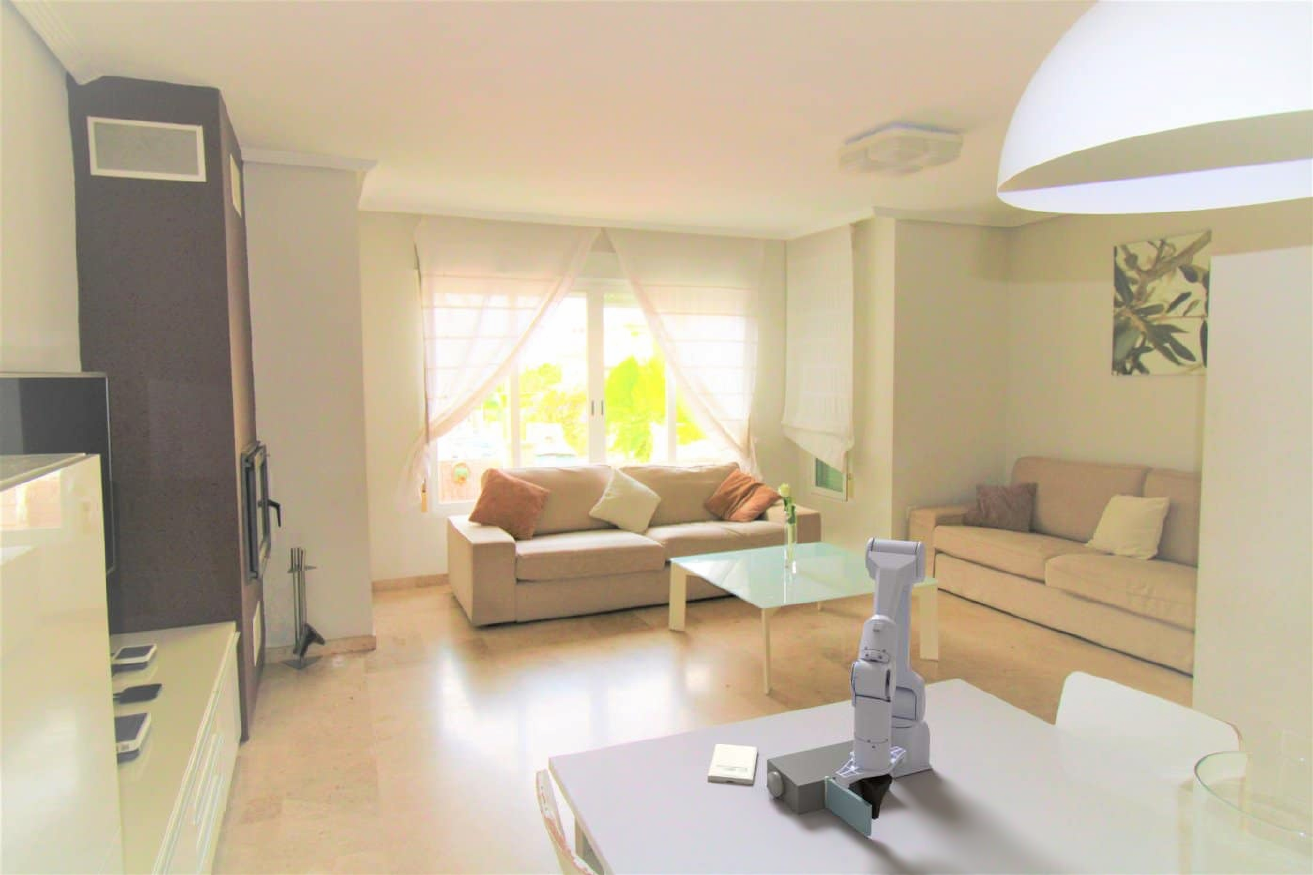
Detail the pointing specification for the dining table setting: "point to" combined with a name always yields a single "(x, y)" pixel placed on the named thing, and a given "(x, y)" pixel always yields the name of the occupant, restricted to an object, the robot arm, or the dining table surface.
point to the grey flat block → (808, 775)
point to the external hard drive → (733, 764)
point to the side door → (848, 806)
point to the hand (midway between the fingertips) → (871, 816)
